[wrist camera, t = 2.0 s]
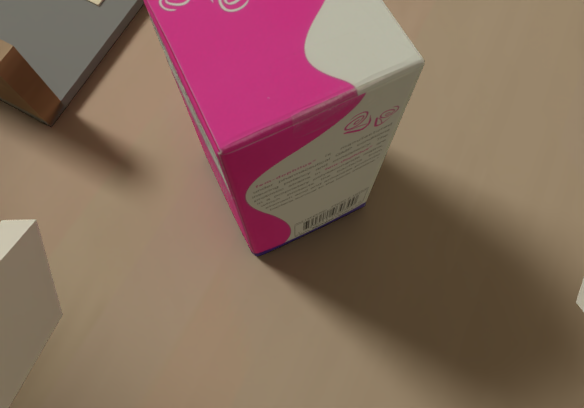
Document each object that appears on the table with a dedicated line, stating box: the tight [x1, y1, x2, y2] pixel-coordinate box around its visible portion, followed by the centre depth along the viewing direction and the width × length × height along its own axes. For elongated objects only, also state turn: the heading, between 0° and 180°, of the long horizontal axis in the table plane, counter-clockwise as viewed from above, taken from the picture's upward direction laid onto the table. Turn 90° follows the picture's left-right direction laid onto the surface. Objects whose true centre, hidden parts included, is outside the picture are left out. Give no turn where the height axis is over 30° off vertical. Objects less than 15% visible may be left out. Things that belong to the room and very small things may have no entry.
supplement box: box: [143, 0, 425, 256], centre depth 18 cm, size 6×6×12 cm
